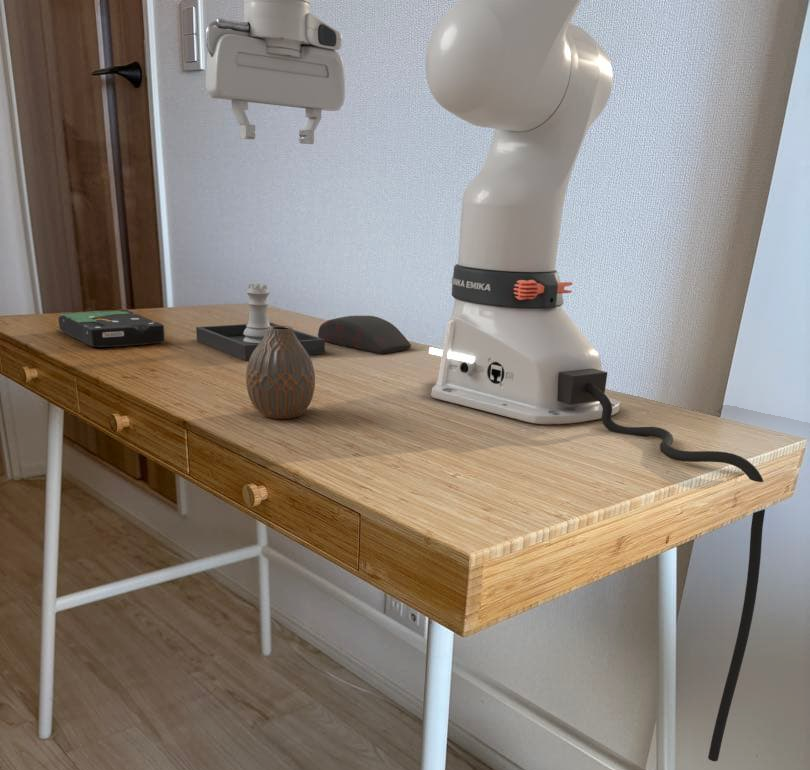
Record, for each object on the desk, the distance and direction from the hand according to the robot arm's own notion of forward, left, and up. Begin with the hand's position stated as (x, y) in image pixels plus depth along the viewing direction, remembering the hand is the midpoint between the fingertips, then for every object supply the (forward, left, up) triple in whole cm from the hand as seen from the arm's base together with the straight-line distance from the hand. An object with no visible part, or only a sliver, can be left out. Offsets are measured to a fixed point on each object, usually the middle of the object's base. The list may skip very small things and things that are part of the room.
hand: (277, 141), depth 117 cm
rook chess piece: (-8, +8, -27) cm, 29 cm away
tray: (-8, +8, -27) cm, 29 cm away
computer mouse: (-12, -7, -27) cm, 31 cm away
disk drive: (+6, +24, -27) cm, 37 cm away
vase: (-41, +23, -27) cm, 54 cm away
